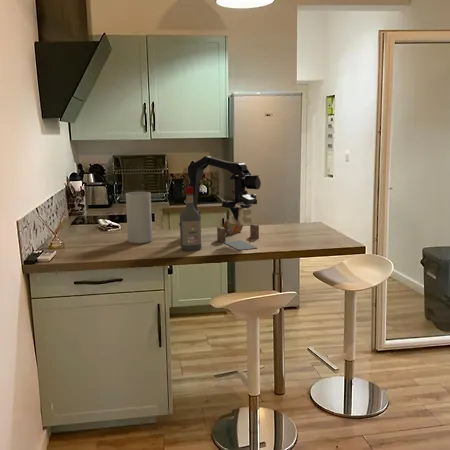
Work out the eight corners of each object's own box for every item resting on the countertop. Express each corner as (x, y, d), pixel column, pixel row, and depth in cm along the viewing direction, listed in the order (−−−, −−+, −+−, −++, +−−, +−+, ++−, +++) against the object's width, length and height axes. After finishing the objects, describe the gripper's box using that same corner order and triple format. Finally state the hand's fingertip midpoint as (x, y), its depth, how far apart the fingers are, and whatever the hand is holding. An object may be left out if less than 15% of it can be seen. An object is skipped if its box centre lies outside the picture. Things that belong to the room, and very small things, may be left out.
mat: (238, 250, 250) (238, 249, 250) (223, 242, 266) (223, 242, 266) (257, 248, 254) (257, 247, 254) (241, 240, 270) (241, 240, 270)
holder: (221, 242, 267) (221, 229, 265) (217, 240, 272) (217, 227, 271) (258, 238, 275) (258, 225, 273) (253, 236, 280) (253, 223, 279)
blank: (229, 222, 264) (228, 207, 263) (235, 221, 267) (234, 206, 265) (245, 226, 255) (245, 209, 254) (251, 224, 258) (251, 208, 256)
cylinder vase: (123, 242, 269) (120, 194, 264) (136, 237, 280) (134, 191, 275) (144, 244, 264) (142, 195, 259) (156, 239, 275) (155, 192, 271)
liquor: (202, 250, 252) (201, 187, 246) (183, 251, 249) (182, 188, 243) (197, 245, 260) (196, 185, 254) (179, 247, 258) (178, 186, 252)
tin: (227, 236, 282) (227, 220, 280) (222, 235, 283) (222, 220, 282) (243, 231, 293) (243, 216, 292) (238, 230, 295) (238, 215, 294)
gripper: (236, 191, 246) (236, 224, 249) (264, 188, 257) (264, 219, 260) (220, 189, 254) (221, 221, 257) (249, 186, 266) (249, 216, 269)
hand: (240, 219), depth 261 cm, fingers closed on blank, 4 cm apart
